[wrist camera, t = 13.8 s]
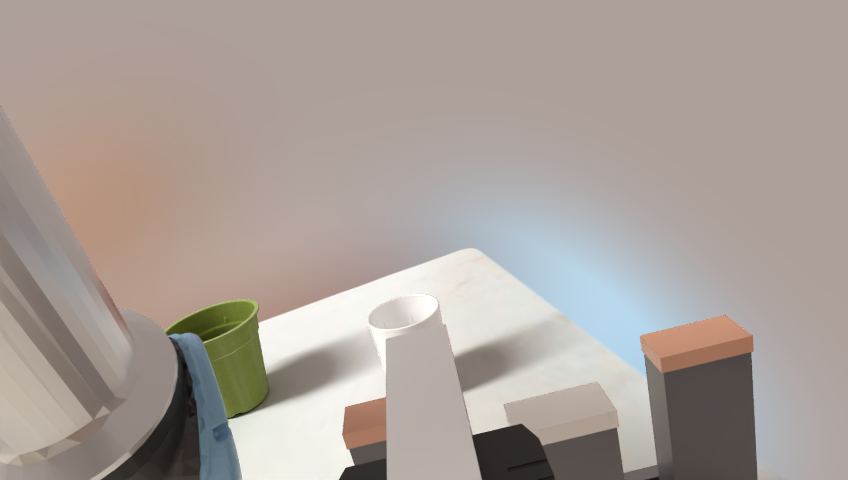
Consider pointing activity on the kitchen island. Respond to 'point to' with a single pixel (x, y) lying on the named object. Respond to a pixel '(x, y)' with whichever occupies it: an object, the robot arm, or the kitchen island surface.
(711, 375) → the key
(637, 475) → the key console
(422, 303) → the white cup
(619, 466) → the key middle
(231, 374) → the plant pot
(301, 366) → the kitchen island surface
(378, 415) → the key
